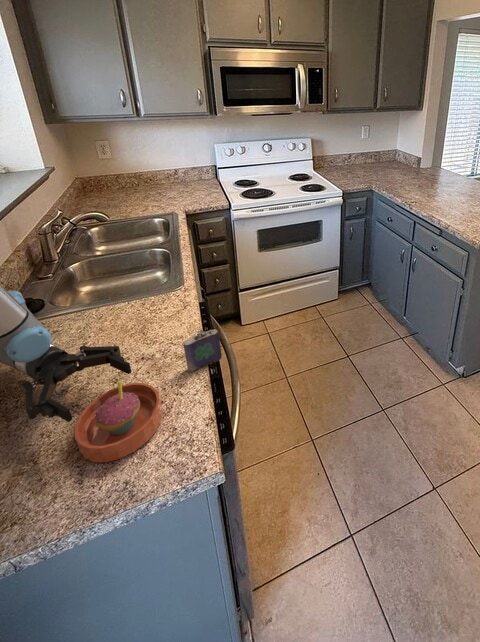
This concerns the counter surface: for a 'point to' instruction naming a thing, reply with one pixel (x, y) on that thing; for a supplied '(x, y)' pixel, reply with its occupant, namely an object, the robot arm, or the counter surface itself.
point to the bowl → (113, 447)
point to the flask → (202, 349)
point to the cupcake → (118, 412)
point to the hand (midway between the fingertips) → (101, 390)
